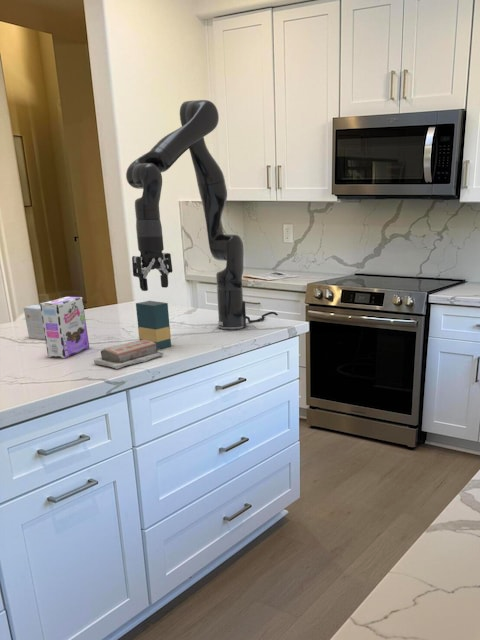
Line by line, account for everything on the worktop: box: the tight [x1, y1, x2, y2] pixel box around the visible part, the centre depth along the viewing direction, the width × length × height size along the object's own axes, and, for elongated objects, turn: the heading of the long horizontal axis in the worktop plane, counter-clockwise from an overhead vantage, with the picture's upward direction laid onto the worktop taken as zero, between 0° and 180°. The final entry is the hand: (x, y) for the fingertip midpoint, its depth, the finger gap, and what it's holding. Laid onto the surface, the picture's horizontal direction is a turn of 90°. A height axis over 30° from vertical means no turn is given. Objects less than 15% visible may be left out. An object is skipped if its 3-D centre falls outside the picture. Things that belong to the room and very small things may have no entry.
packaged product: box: [93, 339, 164, 370], centre depth 180 cm, size 18×5×10 cm
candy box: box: [39, 296, 90, 359], centre depth 186 cm, size 14×6×16 cm, turn 168°
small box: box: [23, 304, 46, 341], centre depth 206 cm, size 8×6×10 cm
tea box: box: [135, 300, 172, 351], centre depth 196 cm, size 14×6×8 cm
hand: (154, 288), depth 190 cm, fingers open, 8 cm apart
